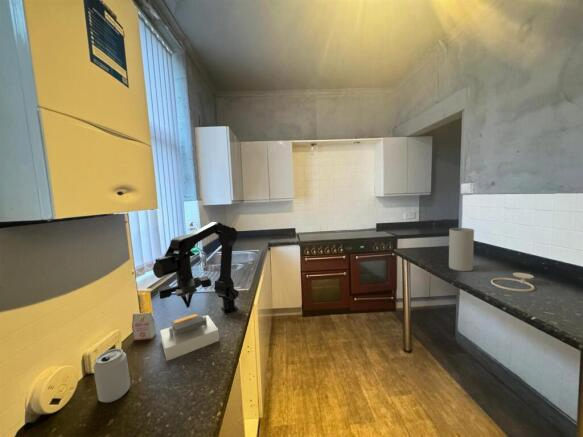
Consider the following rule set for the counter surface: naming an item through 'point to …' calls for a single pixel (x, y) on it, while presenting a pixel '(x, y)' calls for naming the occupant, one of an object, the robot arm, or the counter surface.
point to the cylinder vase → (461, 249)
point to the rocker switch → (188, 323)
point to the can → (111, 375)
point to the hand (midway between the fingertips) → (187, 307)
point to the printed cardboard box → (143, 326)
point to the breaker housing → (188, 339)
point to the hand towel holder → (520, 275)
